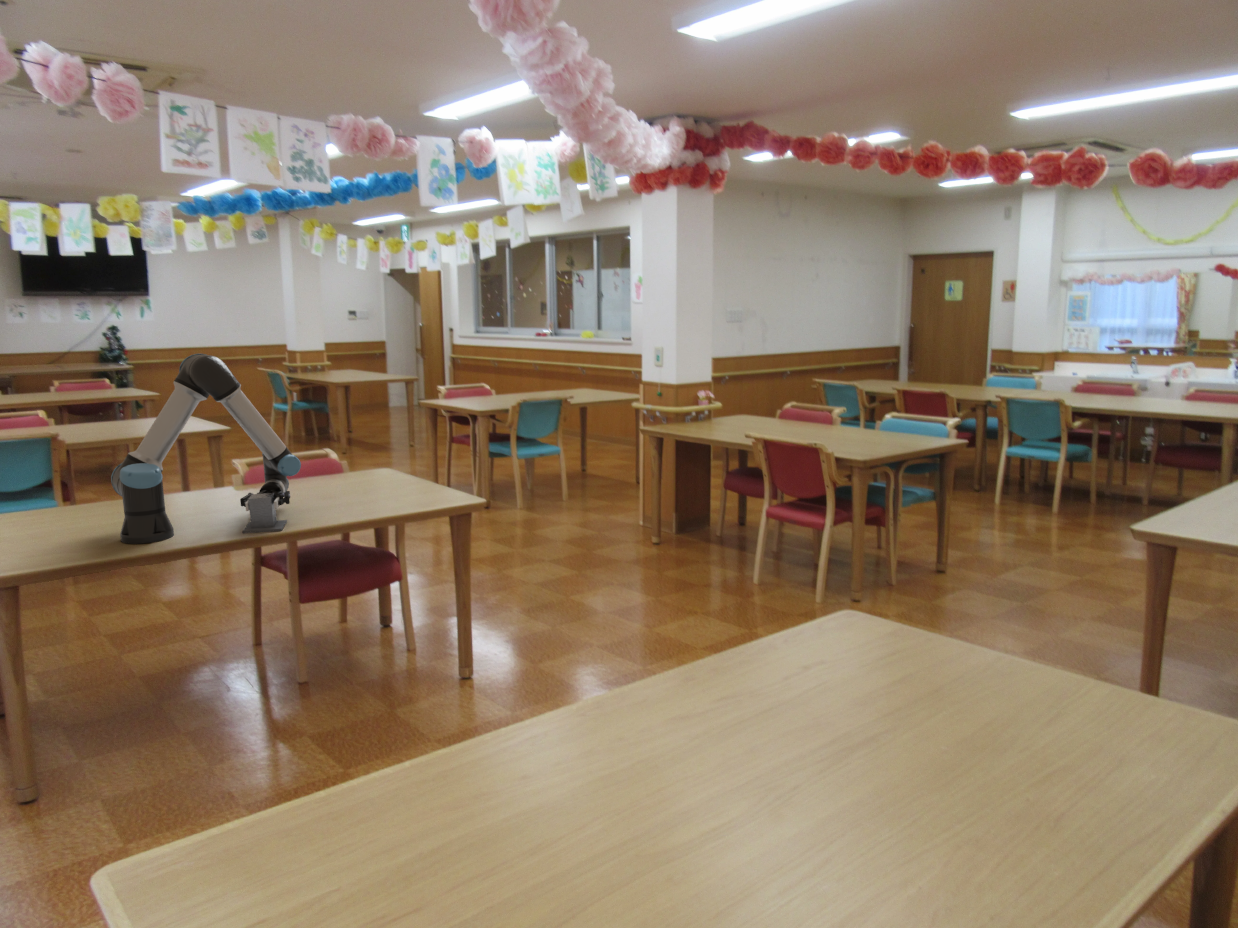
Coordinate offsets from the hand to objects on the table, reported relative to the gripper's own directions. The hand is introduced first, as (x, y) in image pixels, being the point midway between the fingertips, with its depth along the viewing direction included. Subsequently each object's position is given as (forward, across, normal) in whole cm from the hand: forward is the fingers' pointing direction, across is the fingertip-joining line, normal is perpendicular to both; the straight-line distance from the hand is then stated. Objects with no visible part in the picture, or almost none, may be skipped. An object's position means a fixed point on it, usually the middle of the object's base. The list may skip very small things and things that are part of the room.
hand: (261, 506), depth 289 cm
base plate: (-4, 0, -8) cm, 9 cm away
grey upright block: (-4, 0, -7) cm, 9 cm away
